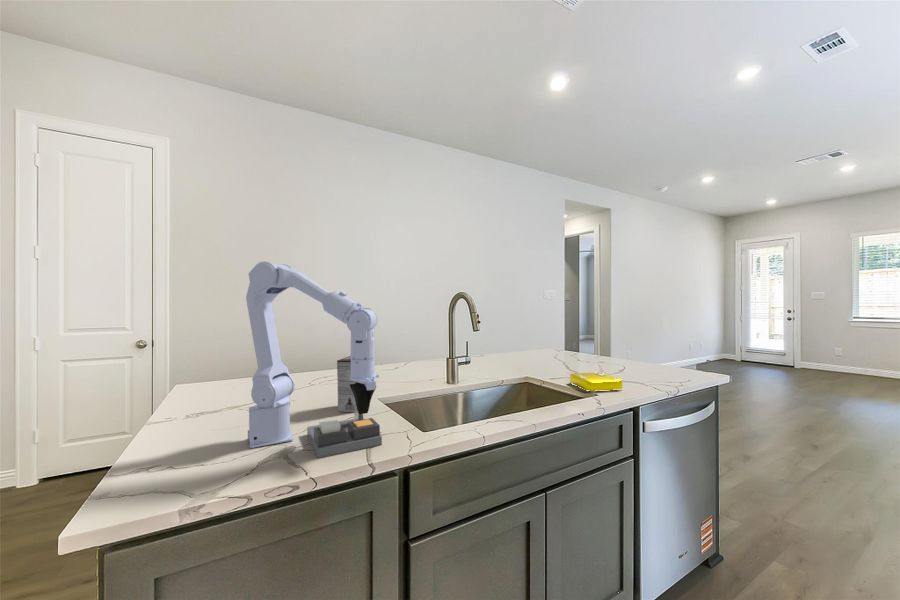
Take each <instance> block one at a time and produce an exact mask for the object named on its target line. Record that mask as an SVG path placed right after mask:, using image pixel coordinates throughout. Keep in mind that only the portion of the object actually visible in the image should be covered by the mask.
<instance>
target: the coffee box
mask: <svg viewBox="0 0 900 600" xmlns="http://www.w3.org/2000/svg"><path fill="white" fill-rule="evenodd" d="M336 361H337V362H336V365H337V366H336V368H337V370H336V371H337V373H336V374H337V411H338V412H341V411H344V412H345V413H354V405H356V401H355V397H354V394H353V392H352V390H351V388H350V384H356V383H357V382H354V381H351V380H350V375H351V355H349V356H346V357H343V358H341V359H338V360H336ZM344 412H343V413H344Z"/></svg>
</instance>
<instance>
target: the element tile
mask: <svg viewBox="0 0 900 600" xmlns="http://www.w3.org/2000/svg"><path fill="white" fill-rule="evenodd" d="M623 382H624V381H623V379H622V378H619V377H617V376H614V375H610V374H608V373H605V372H603V371H595V372H577V373H576V372H575V373H570V374H569V384H570V383H573V384H575V385H577V386H579V387H581V388H583V389H585V390H590V391H595V390H613V389H622V388H623V387H624V386H623V385H624V384H623ZM623 389H624V388H623Z"/></svg>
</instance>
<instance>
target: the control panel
mask: <svg viewBox="0 0 900 600" xmlns="http://www.w3.org/2000/svg"><path fill="white" fill-rule="evenodd" d="M367 419H369V420H370V421H371V422H372V423H373V424H374V425H371V426H366V427H360V428H356V427H355V426H354V425H353V422H355V420H354V418H353V419H346V420H340V421H338V422H339V423H340V431H338V432H333V433H327V434H321V432H320V431H319V424H317V425H310V426H307V427H306V430H307V431H306V432H307V437H308V439H309V441H310V443H311V445H312V448H313V450H314V452H315V455H316V456H317V458H318V459H320V458H321V459H322V458H325V457H329V456H334V455H340V454H344V453H349V452H353V451H354V450H355V451H359V450H363V449H369V448H373V447H379V446H382V445H383V443H382V442H383V440H382V439H383V438H382V435H381V434H380V433H381V431H380V430H381V427H380V426H381V425H380V424H379V423H378V422H377V421H376V420H375V419H374V418H373V417H369V418H365V417H363V419H362V420H367ZM357 421H361V420H357Z"/></svg>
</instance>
